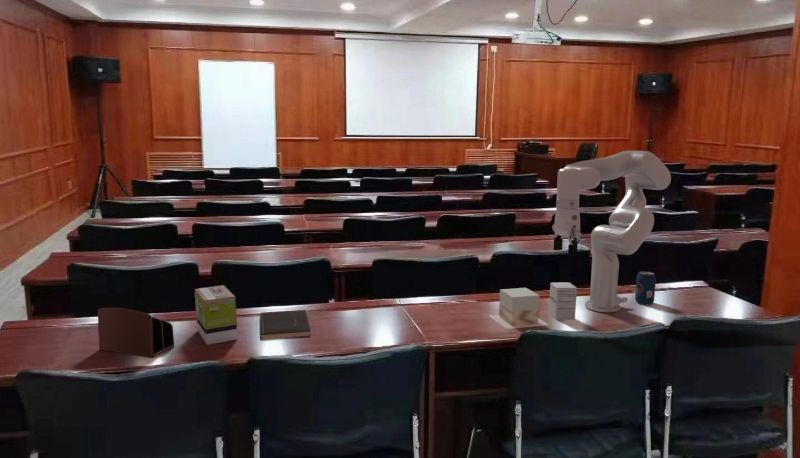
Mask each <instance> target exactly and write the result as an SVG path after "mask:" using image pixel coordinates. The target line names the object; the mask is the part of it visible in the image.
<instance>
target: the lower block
mask: <svg viewBox="0 0 800 458" xmlns="http://www.w3.org/2000/svg"><path fill="white" fill-rule="evenodd" d="M539 311H540V308H539V309H538V310H526V311H514V312H512V311H510V310H509V309H507V308H506V307H504V306H503V305H501V304H500V303H499V309H498V315H499V317H500V318H501V319H503V320H504V321H506V322H507V323H508V324H510V325H511V326H515V325H526V324H537V323H538V318H539V317H540V316H539V315H540V313H539Z"/></svg>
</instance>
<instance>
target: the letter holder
mask: <svg viewBox="0 0 800 458" xmlns="http://www.w3.org/2000/svg"><path fill="white" fill-rule="evenodd" d="M97 321H98V322H97V330H98V350H99V351H105V352H111V353H118V354H124V355H129V356H135V357H141V358H149V359H153V358H156V357H157V356H160V355H162V354H164V353H166V352H168V351H169V350H171V349H173V348H175V339H174V338H175V336H174V326H173V324H172V323H170V322H169V321H167V320H163V319H159V318H156V317H153V316H152V315H150V314H149V313H147V312H144V311H140V310H139V311H138V310H135V309H130V308H124V307H100V308H98V310H97Z"/></svg>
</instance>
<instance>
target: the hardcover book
mask: <svg viewBox="0 0 800 458" xmlns="http://www.w3.org/2000/svg"><path fill="white" fill-rule="evenodd" d="M259 322H260V323H259V327H260V329H259V330H260V331H259V332H260V334H259V335H260V336H259V337H260V340H261V339H262V340H264V339H277V338H281V339H282V338H294V337H308V336H310V332H311V331H312V330H311V327H310V323H309V319H308V314H307V310H306V309H296V310H295V309H293V310H279V311H278V310H277V311H263V312H260V313H259Z"/></svg>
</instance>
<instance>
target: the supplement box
mask: <svg viewBox="0 0 800 458" xmlns="http://www.w3.org/2000/svg"><path fill="white" fill-rule="evenodd" d="M549 286H550V287H549V289H550V290H549V303H548V304H549V306H548V314H549V315H550V316H551V317H552V318H553V319H554V320H555V321H557V320H558V321H561V320H562V321H563V320H576V308H577V294H578V293H577V291H578V288H577V287H576V286H575V285H574V284H573V283H571V282H567V281H566V282H564V281H563V282H550V285H549Z"/></svg>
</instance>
